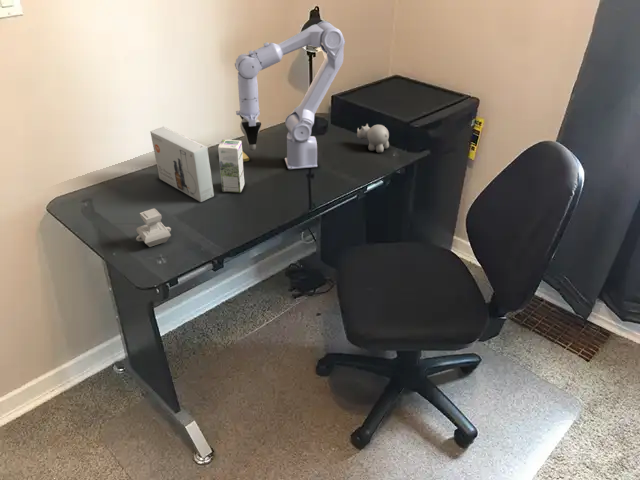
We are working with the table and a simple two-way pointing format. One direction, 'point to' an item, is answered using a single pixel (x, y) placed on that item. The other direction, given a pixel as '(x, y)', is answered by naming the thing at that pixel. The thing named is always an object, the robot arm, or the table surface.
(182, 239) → the table surface
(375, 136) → the toy rhinoceros
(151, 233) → the stamp
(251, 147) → the lightbulb
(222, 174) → the syrup box
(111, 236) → the table surface
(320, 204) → the table surface
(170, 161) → the skincare box
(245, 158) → the sticky note pad
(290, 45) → the robot arm
